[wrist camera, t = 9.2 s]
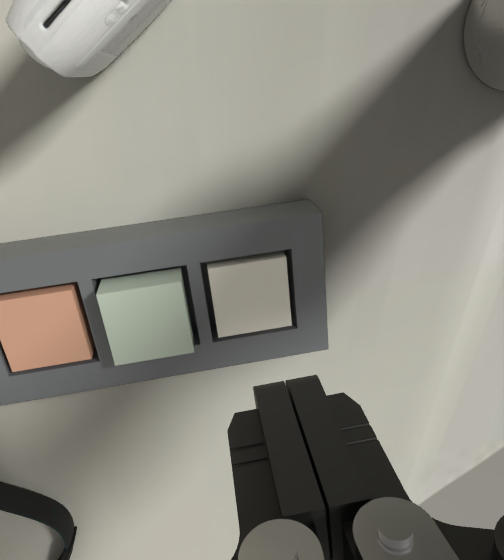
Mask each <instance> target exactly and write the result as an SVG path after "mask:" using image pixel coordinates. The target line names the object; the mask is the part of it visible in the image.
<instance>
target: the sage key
mask: <svg viewBox="0 0 504 560" xmlns="http://www.w3.org/2000/svg"><path fill="white" fill-rule="evenodd" d="M96 297H97V300H98V304H99V308H100V312H101V315H102V319H103V323H104V326H105V330H106V334H107V338H108V341H109V345H110V349H111V353H112V356H113V360H114V364H115V366H117V365H123V364H129V363H135V362H141V361H147V360H152V359H158V358H164V357H170V356H176V355H182V354H188V353H194V342H193V331H192V326H191V320H190V315H189V309H188V304H187V298H186V293H185V287H184V282H183V276H182V271H181V267H178V268H171V269H165V270H158V271H152V272H145V273H138V274H132V275H125V276H119V277H112V278H106V279H101V282H100V285H99V288H98V291H97V294H96Z"/></svg>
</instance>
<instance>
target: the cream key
mask: <svg viewBox="0 0 504 560" xmlns="http://www.w3.org/2000/svg"><path fill="white" fill-rule="evenodd" d="M207 268H208V275H209V281H210V287H211V294H212V300H213V306H214V313H215V319H216V326H217V332H218V338H220V337H226V336H232V335H238V334H244V333H250V332H256V331H262V330H268V329H274V328H280V327H286V326H292V322H291V310H290V297H289V285H288V273H287V261H286V256H285V254H284V252H283V251H282V250H281V251H274V252H268V253H261V254H255V255H248V256H242V257H235V258H228V259H222V260H215V261H209V262H207Z"/></svg>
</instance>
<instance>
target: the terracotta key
mask: <svg viewBox="0 0 504 560" xmlns="http://www.w3.org/2000/svg"><path fill="white" fill-rule="evenodd" d="M0 340H1V343H2V346H3V348H4V351H5V354H6V356H7V359H8V362H9V364H10V367H11V370H12V372H17V371H23V370H29V369H35V368H41V367H47V366H53V365H59V364H65V363H71V362H77V361H83V360H89V359H92V356H93V352H94V349H95V342H94V339H93V335H92V332H91V328H90V325H89V321H88V318H87V314H86V310H85V307H84V303H83V300H82V296H81V293H80V289H79V286H78V282H71V283H64V284H58V285H51V286H45V287H38V288H31V289H25V290H18V291H12V292H5V293H0Z"/></svg>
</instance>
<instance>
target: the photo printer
mask: <svg viewBox="0 0 504 560" xmlns="http://www.w3.org/2000/svg"><path fill="white" fill-rule="evenodd" d="M170 1H171V0H14V1H13V3H12V5H11V7H10V10H9V12H8V15H7V17H6V22H7V24H8V26H9V28H10V29H11V30H12V32H13V33H14V34H15V35H16V36H17V38H18V39H19V41H20V43H21V45H22V46H23V48H24V49H25V51H26V52H27V53H28V54H29V55H30V56H31V57H32V58H33V59H34V60H35V61H37V62H38V63H40V64H41V65H43V66H45V67H47V68H50V69H52V70H53V71H55V72H56V73H57V74H59V75H61V76H63V77H92V76H94V75H95V74H97V73H99V72H100V71H102V70H103V69H104V68H106V67H107V66H108V65H109V64H110V63H111V62H112V61H113V60H114V59H115V58H116V57H117V56H118V55H119V54H120V53H121V52H122V51H124V50H125V49H126V48H127V47H128V46H129V45H130V44H131V43H132V42H133V41H134V40H135V39H136V37H137V36H138V35H139V34H140V33H141V32H142V31H143V30H144V29H145V28H146V27H147V26H148V25H149V24H150V23H151V22H152V21H153V20H154V19H155V18H156V17H157V16H158V14H159V13H160V12H161V11H162V10H163V9H164V8H165V7H166V6H167V5H168V3H169V2H170Z"/></svg>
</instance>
